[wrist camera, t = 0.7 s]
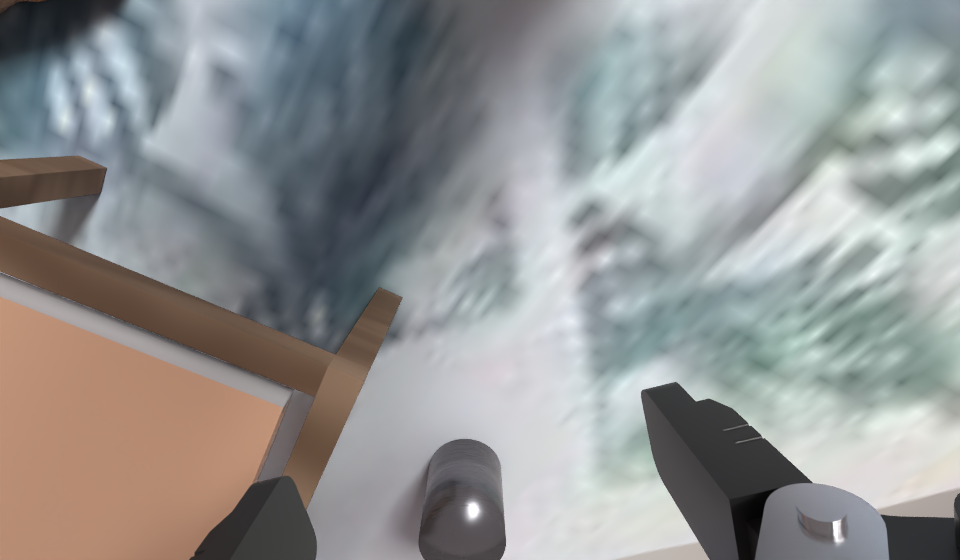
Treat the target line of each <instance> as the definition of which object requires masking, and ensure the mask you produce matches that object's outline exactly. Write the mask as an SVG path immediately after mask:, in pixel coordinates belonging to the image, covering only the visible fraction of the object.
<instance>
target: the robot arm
mask: <svg viewBox="0 0 960 560" xmlns="http://www.w3.org/2000/svg"><path fill="white" fill-rule="evenodd" d="M641 398H642V404H643V409H644V414H645V419H646V424H647V429H648V434H649V439H650V444H651V450H652V454H653V458H654V461H655V464H656V467H657V470H658V472H659V475H660V477H661V479H662V481H663V483H664V485H665V486H666V488H667V490H668V491H669V493H670V495H671V496H672V498H673V500H674V501H675V503H676V505H677V506H678V508H679V510H680V511H681V513H682V514H683V516H684V518H685V519H686V521H687V523H688V524H689V526H690V528H691V529H692V531H693V533H694V534H695V536H696V538H697V539H698V541H699V543H700V544H701V546H702V547H703V549H704V551H705V552H706V554H707V556H708V557H709V559H710V560H960V493H959V494H958V495H957V497H956V498H955V502H954V518H938V517H898V516H886V515H880V514H879V513H878V512H877V510H876V509H875V508H873V507H872V506H871V505H870V504H869V503H867V502H866V501H864V500H863V499H862V498H860V497H858V496H856V495H854V494H852V493H850V492H847V491H845V490H842V489H839V488H836V487H833V486H828V485H823V484H815V483H812V482H811V481H810V480H809V479H808V478H807V477H806V476H805V475H804V474H803V473H802V472H801V471H799V470H798V469H797V468H796V467H795V466H794V465H793V464H792V463H791V462H790V461H789V460H788V459H786V458H785V457H784V456H783V455H782V454H781V453H780V452H779V451H778V450H777V449H776V448H775V447H773V446H772V445H771V444H770V443H769V442H768V441H767V440H766V439H765V438H764V439H763V438H762V436H761V435H760V434H759V433H758V432H757V431H756V430H755V429H754V428H753V427H752V426H749V425H748V423H747V422H746V421H745V420H744V419H743V418H742V417H741V416H740V415H739V414H738V413H737V412H736V411H734V410H733V409H732V408H730V407H728V406H725V405H723V404H721V403H718V402H716V401H714V400H711V399H706V400H701V401H697V402H696V401H695V400H694V399H693V398H692V397H691V396H690V395H689V394H688V393H687V392H686V391H685V390H684V389H683V388H682V387H681V386H680V385H679V384H678V383H677V382H674V383H669V384H665V385H661V386H657V387H653V388H649V389H645V390H642V392H641ZM316 552H317V543H316V536H315V532H314V529H313V527H312V524H311V522H310V519H309V517H308V514H307V512H306V509H305V507H304V504H303V502H302V499H301V497H300V494H299V492H298V489H297V487H296V484H295V482H294V481H293V479H292V478H291V477H289V476H282V477H278V478H274V479H270V480H265V481H261V482H257V483H254V484H252V485H251V486H250V487H249V488H248V490H247V491H246V492H245V494H244V495H243V497H242V498H241V500H240V501H239V502H238V504H237V505H236V507H235V508H234V510H233V511H232V512H231V513H230V514H229V515H228V516H226V517H225V518H224V519H223V520H222V521H221V522H220V523H219V524H218V525H217V526H215V527H214V528H213V529H212V530H211V531H210V532H209V533H208V535H207V536H206V537H205V539H204V540H203V541H202V543H201V544H200V546H199V547H198V548H197V550H196V551H195V552H194V554H195V555H194V556H193V557H191V558H190V559H189V560H315V559H316Z"/></svg>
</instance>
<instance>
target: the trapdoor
mask: <svg viewBox="0 0 960 560" xmlns="http://www.w3.org/2000/svg"><path fill="white" fill-rule="evenodd" d="M293 391H294V389H292V388H289V387H287V386H284V385H282V384H279V383H277V382H274V381H272V380H269V379H267V378H264V377H262V376H259V375H257V374H254V373H252V372H249V371H247V370H244V369H241V368H239V367H236V366H234V365H231V364H229V363H226V362H224V361H221V360H219V359H216V358H214V357H211V356H209V355H206V354H204V353H201V352H199V351H196V350H194V349H191V348H189V347H186V346H184V345H181V344H179V343H176V342H174V341H171V340H169V339H166V338H164V337H161V336H159V335H156V334H154V333H151V332H149V331H146V330H144V329H141V328H139V327H136V326H134V325H131V324H129V323H126V322H124V321H121V320H118V319H116V318H113V317H111V316H108V315H106V314H103V313H101V312H98V311H96V310H93V309H91V308H88V307H86V306H83V305H81V304H78V303H76V302H73V301H71V300H68V299H66V298H63V297H61V296H58V295H56V294H53V293H51V292H48V291H46V290H43V289H41V288H38V287H36V286H33V285H31V284H28V283H26V282H23V281H21V280H18V279H16V278H13V277H11V276H8V275H6V274H3V273H0V560H189V559H190V558H191V557H193V556H194V555H195V554H194V552H195V551H196V550H197V548H198V547H199V546H200V544H201V543H202V541H203V540H204V539H205V537H206V536H207V535H208V533H209V532H210V531H211V530H212V529H213V528H214V527H215V526H217V525H218V524H219V523H220V522H221V521H222V520H223V519H224V518H225V517H226V516H228V515H229V514H230V513H231V512H232V511H233V510H234V508H235V507H236V505H237V504H238V502H239V501H240V500H241V498H242V497H243V495H244V494H245V492H246V491H247V490H248V488H249V487H250V486H251V485H252V484H254V483H257V480H258V478H259V475H260V473H261V470H262V468H263V465H264V463H265V460H266V458H267V456H268V453H269V451H270V448H271V446H272V443H273V441H274V438H275V436H276V434H277V431H278V429H279V426H280V424H281V421H282V419H283V416H284V414H285V411H286V409H287V407H288V404H289V402H290V399H291V397H292V394H293Z"/></svg>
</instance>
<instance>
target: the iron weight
mask: <svg viewBox="0 0 960 560" xmlns="http://www.w3.org/2000/svg"><path fill="white" fill-rule="evenodd" d="M505 547H506V536H505V521H504V507H503V492H502V478H501V466H500V461H499V459H498V457H497V455H496V454H495V452H494V451H493V450H492V449H491V448H490V447H488V446H487V445H485V444H484V443H481V442H479V441H476V440H471V439H459V440H454V441H451V442H448V443H446V444H444V445H443V446H441V447H440V448H439V449H438V450H437V451H436V452H435V453H434V455H433V456H432V459H431V461H430V465H429V472H428V479H427V486H426V493H425V500H424V506H423V513H422V520H421V527H420V534H419V549H420V552H421V555H422V556H423V558H424V559H425V560H500V559H501V558H502V556H503V554H504V551H505Z"/></svg>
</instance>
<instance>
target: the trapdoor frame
mask: <svg viewBox="0 0 960 560" xmlns="http://www.w3.org/2000/svg"><path fill="white" fill-rule="evenodd" d="M106 169H107V168H106V167H103V166H101V165H99V164H97V163H94V162H92V161H90V160H87V159H85V158H83V157H81V156H65V157H46V158H27V159H8V160H0V208H7V207H13V206H19V205H26V204H32V203H39V202H45V201H52V200H58V199H65V198H71V197H78V196H84V195H91V194H97V193H101V189H102V185H103V181H104V177H105V173H106ZM0 272H3V273H5V274H8V275H10V276H13V277H15V278H18V279H20V280H23V281H25V282H28V283H30V284H33V285H35V286H38V287H40V288H43V289H45V290H48V291H50V292H53V293H56V294H58V295H61V296H63V297H66V298H68V299H71V300H73V301H76V302H78V303H81V304H83V305H86V306H88V307H91V308H93V309H96V310H98V311H101V312H103V313H106V314H108V315H111V316H113V317H116V318H118V319H121V320H123V321H126V322H128V323H131V324H133V325H136V326H138V327H141V328H143V329H146V330H148V331H151V332H153V333H156V334H158V335H161V336H163V337H166V338H168V339H171V340H173V341H176V342H178V343H181V344H183V345H186V346H188V347H191V348H193V349H196V350H199V351H201V352H204V353H206V354H209V355H211V356H214V357H216V358H219V359H221V360H224V361H226V362H229V363H231V364H234V365H236V366H239V367H241V368H244V369H246V370H249V371H251V372H254V373H256V374H259V375H261V376H264V377H266V378H269V379H271V380H274V381H276V382H279V383H281V384H284V385H286V386H289V387H291V388H294V389H296V390H299V391H301V392H304V393H306V394H309V395H311V396H314V397H315V399H314V401H313V404H312V406H311V408H310V411H309V413H308V415H307V418H306V420H305V422H304V425H303V427H302V429H301V432H300V434H299V437H298V439H297V441H296V444H295V446H294V448H293V451H292V453H291V455H290V458H289V460H288V462H287V465H286V467H285V470H284V472H283V474H282V476H289V477H291V478H292V479H293V481H294V482H295V484H296V487H297V489H298V492H299V494H300V497H301V499H302V502H303V504H304V507H305V509H307V507H308V504H309V502H310V500H311V498H312V496H313V493H314V491H315V489H316V487H317V485H318V482H319V480H320V478H321V476H322V474H323V471H324V469H325V467H326V465H327V463H328V460H329V458H330V456H331V454H332V451H333V449H334V447H335V445H336V443H337V440H338V438H339V436H340V434H341V432H342V429H343V427H344V425H345V423H346V421H347V418H348V416H349V414H350V412H351V410H352V407H353V405H354V403H355V401H356V398H357V396H358V394H359V392H360V390H361V388H362V385H363V383H364V381H365V379H366V377H367V375H368V372H369V370H370V368H371V366H372V364H373V361H374V359H375V357H376V355H377V353H378V351H379V348H380V346H381V344H382V342H383V340H384V337H385V335H386V333H387V331H388V329H389V327H390V324H391V322H392V320H393V318H394V316H395V313H396V311H397V309H398V307H399V305H400V302H401V300H402V297H400V296H398V295H396V294H393V293H391V292H389V291H386V290H384V289H382V288H380V287H379V288H378V290H377V291H376V293H375V295H374V296H373V298H372V299H371V301H370V302H369V304H368V305H367V307H366V309H365V310H364V312H363V313H362V315H361V316H360V318H359V319H358V321H357V323H356V324H355V326H354V327H353V329H352V330H351V332H350V333H349V335H348V336H347V338H346V340H345V341H344V343H343V344H342V346H341V347H340V349H339V350H338V352H337V354H336V355H335V354H332V353H330V352H328V351H325V350H323V349H320V348H318V347H316V346H313V345H311V344H308V343H306V342H303V341H301V340H299V339H296V338H294V337H291V336H289V335H287V334H284V333H282V332H279V331H277V330H274V329H272V328H270V327H267V326H265V325H262V324H260V323H257V322H255V321H253V320H250V319H248V318H245V317H243V316H241V315H238V314H236V313H233V312H231V311H228V310H226V309H224V308H221V307H219V306H216V305H214V304H211V303H209V302H207V301H204V300H202V299H199V298H197V297H195V296H192V295H190V294H187V293H185V292H182V291H180V290H178V289H175V288H173V287H170V286H168V285H165V284H163V283H161V282H158V281H156V280H153V279H151V278H149V277H146V276H144V275H141V274H139V273H136V272H134V271H132V270H129V269H127V268H124V267H122V266H120V265H117V264H115V263H112V262H110V261H107V260H105V259H103V258H100V257H98V256H95V255H93V254H90V253H88V252H86V251H83V250H81V249H78V248H76V247H74V246H71V245H69V244H66V243H64V242H61V241H59V240H57V239H54V238H52V237H49V236H47V235H44V234H42V233H40V232H37V231H35V230H32V229H30V228H28V227H25V226H23V225H20V224H18V223H15V222H13V221H11V220H8V219H6V218H3V217H1V216H0Z"/></svg>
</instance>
